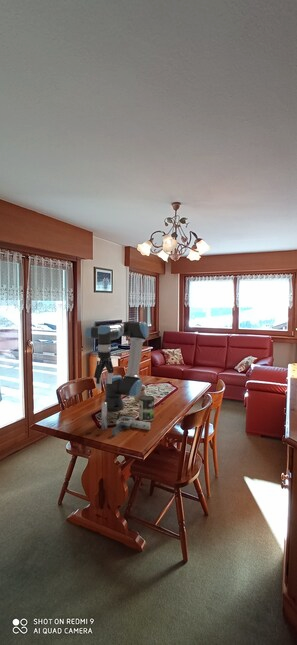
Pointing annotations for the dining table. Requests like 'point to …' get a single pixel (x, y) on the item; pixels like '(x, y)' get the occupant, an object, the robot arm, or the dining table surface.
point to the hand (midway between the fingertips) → (104, 386)
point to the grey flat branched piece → (129, 424)
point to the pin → (104, 415)
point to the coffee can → (146, 408)
